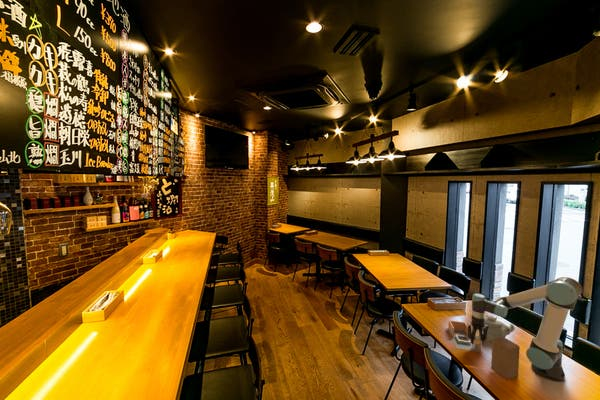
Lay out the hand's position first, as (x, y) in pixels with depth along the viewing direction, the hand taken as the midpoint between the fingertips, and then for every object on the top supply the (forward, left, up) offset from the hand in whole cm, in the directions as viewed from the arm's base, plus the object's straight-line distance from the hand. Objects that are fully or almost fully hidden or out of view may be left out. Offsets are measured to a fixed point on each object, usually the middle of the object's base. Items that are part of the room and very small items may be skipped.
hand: (476, 348), depth 180 cm
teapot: (+16, -19, -2) cm, 25 cm away
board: (+10, +5, -2) cm, 12 cm away
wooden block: (-20, -9, -2) cm, 22 cm away
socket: (+8, +6, -2) cm, 10 cm away
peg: (0, 0, -1) cm, 1 cm away
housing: (+17, +6, 0) cm, 18 cm away
